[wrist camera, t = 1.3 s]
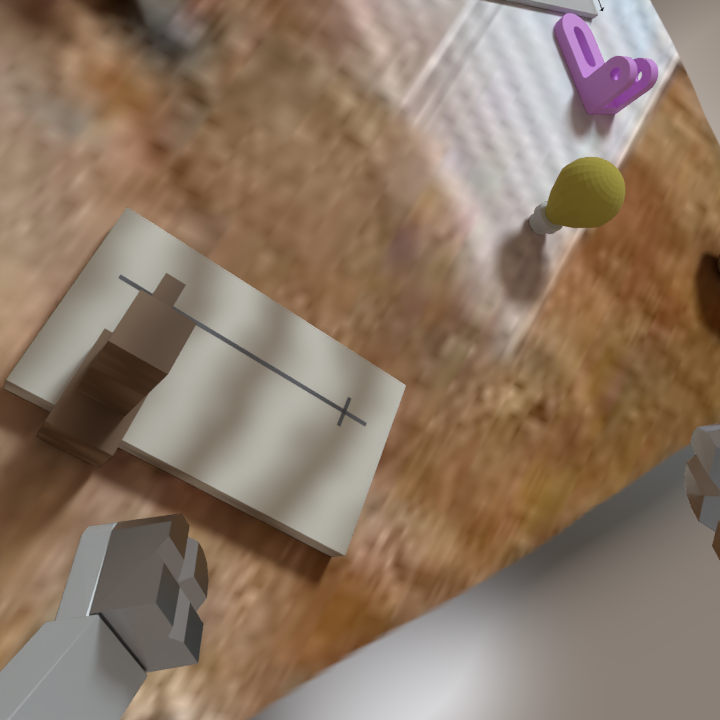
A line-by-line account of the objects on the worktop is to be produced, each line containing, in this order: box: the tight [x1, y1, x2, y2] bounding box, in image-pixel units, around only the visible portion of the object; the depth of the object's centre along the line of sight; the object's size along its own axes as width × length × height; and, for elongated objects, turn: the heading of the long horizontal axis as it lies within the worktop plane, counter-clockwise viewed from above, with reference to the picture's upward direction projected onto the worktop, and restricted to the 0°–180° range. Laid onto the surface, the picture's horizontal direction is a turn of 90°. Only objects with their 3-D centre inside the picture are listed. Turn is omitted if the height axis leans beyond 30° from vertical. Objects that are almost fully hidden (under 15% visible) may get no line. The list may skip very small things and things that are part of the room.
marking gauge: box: [36, 273, 197, 468], centre depth 38 cm, size 4×12×13 cm, turn 158°
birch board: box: [4, 207, 406, 557], centre depth 47 cm, size 24×14×2 cm, turn 68°
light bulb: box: [529, 157, 625, 235], centre depth 66 cm, size 7×7×10 cm
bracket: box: [555, 13, 658, 114], centre depth 80 cm, size 13×6×7 cm, turn 22°
